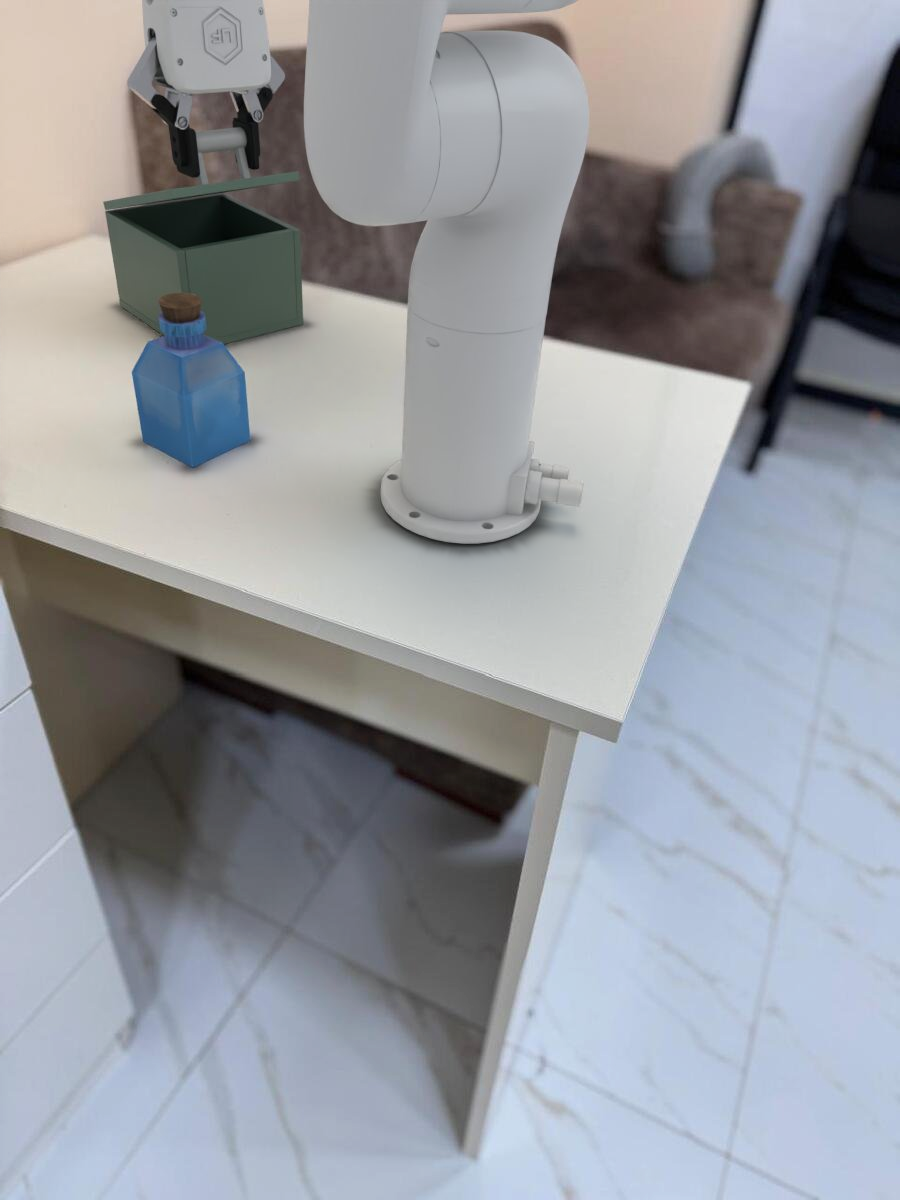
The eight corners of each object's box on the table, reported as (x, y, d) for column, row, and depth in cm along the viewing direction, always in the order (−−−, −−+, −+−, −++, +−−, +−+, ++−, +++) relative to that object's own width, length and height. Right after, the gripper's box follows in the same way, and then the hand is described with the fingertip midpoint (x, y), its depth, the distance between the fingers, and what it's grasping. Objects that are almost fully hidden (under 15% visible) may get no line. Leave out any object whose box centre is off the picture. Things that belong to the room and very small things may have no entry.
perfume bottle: (143, 441, 76) (119, 299, 68) (201, 416, 80) (185, 279, 72) (192, 467, 73) (174, 323, 65) (250, 440, 77) (239, 301, 69)
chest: (303, 324, 97) (300, 229, 91) (189, 353, 89) (177, 252, 83) (230, 282, 105) (223, 193, 99) (120, 306, 98) (104, 210, 91)
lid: (300, 180, 88) (289, 120, 86) (172, 199, 80) (156, 133, 78) (223, 192, 99) (211, 139, 97) (105, 210, 91) (89, 153, 89)
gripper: (117, -69, 68) (153, 190, 78) (308, -63, 77) (317, 168, 88) (74, -74, 72) (114, 173, 83) (260, -67, 81) (274, 153, 92)
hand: (218, 168), depth 85 cm, fingers closed on lid, 5 cm apart
